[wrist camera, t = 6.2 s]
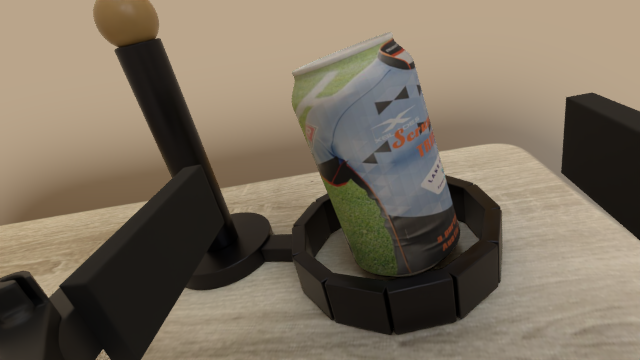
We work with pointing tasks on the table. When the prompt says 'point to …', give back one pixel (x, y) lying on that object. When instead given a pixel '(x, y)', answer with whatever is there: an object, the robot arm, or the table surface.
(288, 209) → the table surface
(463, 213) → the can holder
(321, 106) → the beverage can
